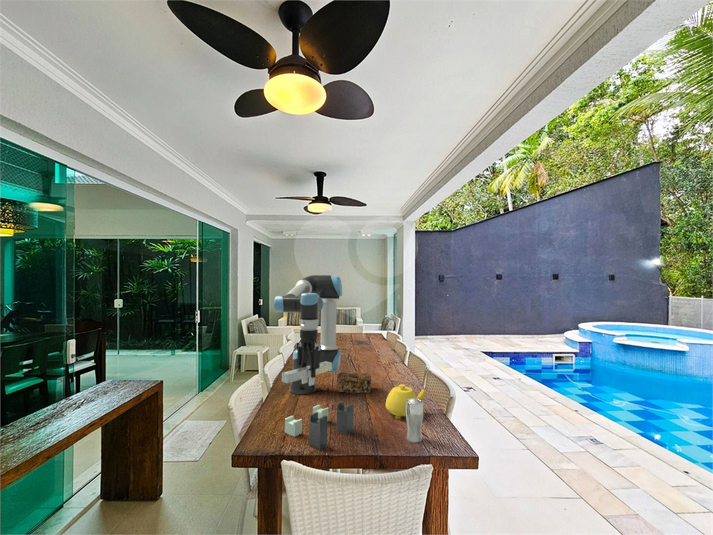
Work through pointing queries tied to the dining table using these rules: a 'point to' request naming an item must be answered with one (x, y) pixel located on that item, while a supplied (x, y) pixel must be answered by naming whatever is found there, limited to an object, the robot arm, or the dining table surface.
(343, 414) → the post
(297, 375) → the rail
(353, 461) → the dining table surface
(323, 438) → the post
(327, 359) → the robot arm
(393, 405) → the teapot
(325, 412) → the rest
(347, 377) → the bread
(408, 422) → the beer glass
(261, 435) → the dining table surface
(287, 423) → the rest
